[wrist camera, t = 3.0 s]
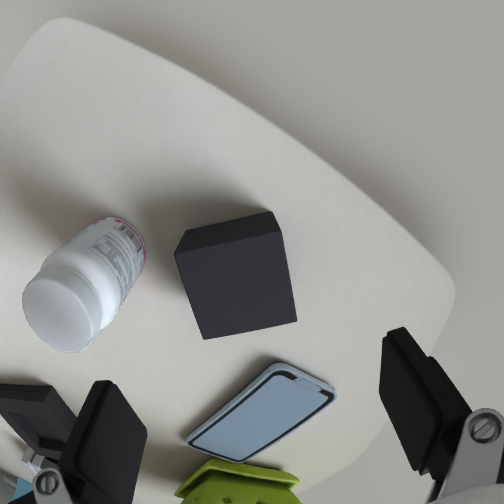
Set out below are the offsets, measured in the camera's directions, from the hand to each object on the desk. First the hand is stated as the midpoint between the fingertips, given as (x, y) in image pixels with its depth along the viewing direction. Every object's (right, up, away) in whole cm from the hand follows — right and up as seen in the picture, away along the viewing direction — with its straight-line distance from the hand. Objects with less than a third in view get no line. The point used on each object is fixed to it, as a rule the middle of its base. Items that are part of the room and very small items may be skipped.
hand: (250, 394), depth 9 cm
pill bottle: (-9, +5, +10) cm, 14 cm away
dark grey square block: (-1, +4, +10) cm, 11 cm away
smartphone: (0, -11, +16) cm, 19 cm away
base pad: (-25, -16, +17) cm, 34 cm away
